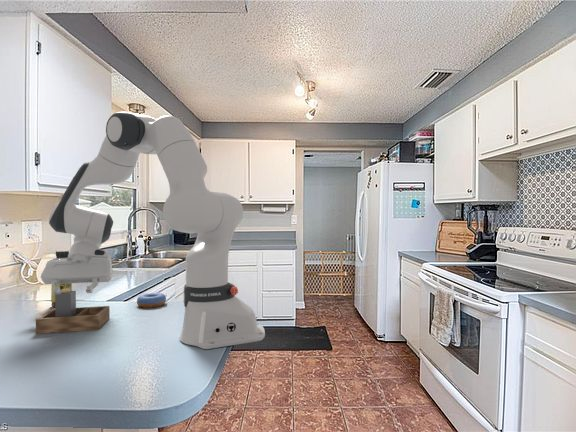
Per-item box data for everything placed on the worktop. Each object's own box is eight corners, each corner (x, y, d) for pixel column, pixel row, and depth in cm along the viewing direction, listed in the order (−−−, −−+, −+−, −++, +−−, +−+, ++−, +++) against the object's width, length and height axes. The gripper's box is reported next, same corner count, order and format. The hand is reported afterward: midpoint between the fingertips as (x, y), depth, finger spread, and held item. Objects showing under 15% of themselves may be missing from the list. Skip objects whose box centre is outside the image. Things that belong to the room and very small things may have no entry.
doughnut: (151, 309, 122) (152, 295, 122) (130, 308, 125) (130, 295, 126) (171, 305, 131) (172, 292, 131) (151, 304, 135) (151, 292, 135)
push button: (76, 320, 106) (75, 287, 106) (70, 324, 103) (70, 290, 103) (61, 321, 106) (60, 288, 106) (55, 325, 102) (55, 291, 102)
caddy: (109, 318, 112) (109, 305, 112) (98, 329, 101) (98, 315, 101) (53, 322, 108) (53, 309, 108) (35, 333, 98) (35, 319, 98)
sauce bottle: (61, 308, 124) (61, 252, 124) (46, 307, 126) (46, 251, 125) (76, 303, 131) (75, 250, 131) (62, 302, 132) (61, 250, 132)
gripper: (45, 252, 115) (31, 288, 106) (113, 251, 120) (105, 285, 110) (51, 264, 120) (38, 300, 110) (116, 262, 124) (109, 296, 115)
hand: (72, 293), depth 110 cm, fingers open, 8 cm apart
